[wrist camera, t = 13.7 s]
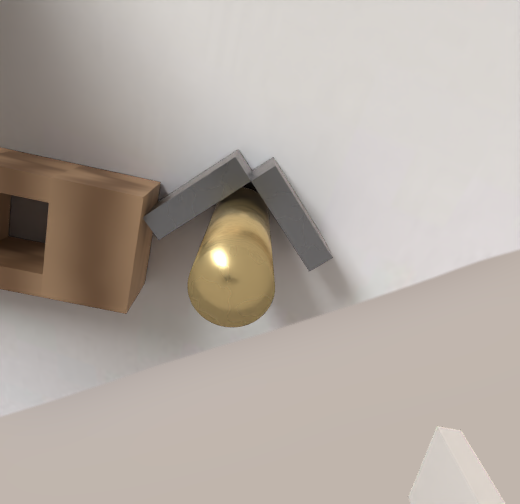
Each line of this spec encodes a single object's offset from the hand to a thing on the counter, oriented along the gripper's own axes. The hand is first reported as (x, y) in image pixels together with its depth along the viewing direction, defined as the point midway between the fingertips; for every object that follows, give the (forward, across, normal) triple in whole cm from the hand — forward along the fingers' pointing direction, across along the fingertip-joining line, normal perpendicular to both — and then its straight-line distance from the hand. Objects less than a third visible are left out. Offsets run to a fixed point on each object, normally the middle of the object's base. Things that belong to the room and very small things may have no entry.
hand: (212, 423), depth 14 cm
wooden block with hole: (+27, -16, -4) cm, 31 cm away
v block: (+26, 0, +1) cm, 27 cm away
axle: (+26, 0, 0) cm, 27 cm away
